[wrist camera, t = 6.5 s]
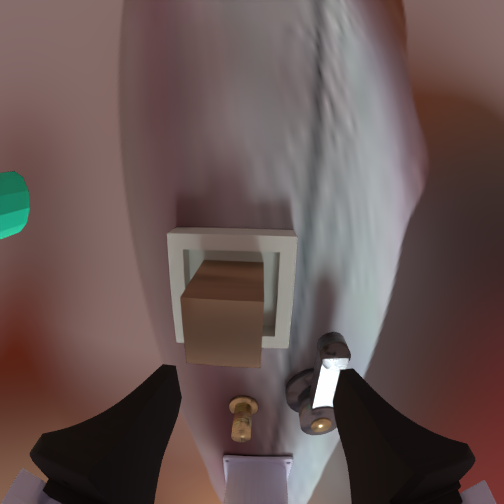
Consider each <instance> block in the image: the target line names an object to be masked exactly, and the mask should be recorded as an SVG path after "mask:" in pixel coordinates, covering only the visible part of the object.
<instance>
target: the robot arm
mask: <svg viewBox="0 0 504 504" xmlns="http://www.w3.org/2000/svg"><path fill="white" fill-rule="evenodd" d="M181 399H182V396H181V391H180V386H179V381H178V376H177V370H176V366H173V365H165V364H163V365H162V366H160V367H159V368H158V369H157V370H156V371H155V372H154V373H153V374H152V375H151V376H150V377H148V378H147V379H146V380H145V381H144V382H143V383H142V384H141V385H140V386H138V387H137V388H136V389H135V390H134V391H133V392H131V393H130V394H129V395H128V396H126V397H125V398H124V399H122V400H121V401H120V402H119V403H117V404H115V405H114V406H112V407H111V408H109V409H108V410H106V411H104V412H103V413H101V414H99V415H97V416H95V417H93V418H91V419H88V420H86V421H84V422H82V423H79V424H77V425H74V426H71V427H68V428H65V429H61V430H57V431H53V432H49V433H44V434H42V435H41V437H40V438H39V440H38V441H37V443H36V444H35V446H34V447H33V449H32V450H31V452H30V457H31V459H32V461H33V462H34V463H35V464H36V465H37V466H38V468H39V469H40V470H41V471H42V472H43V473H44V474H45V475H46V476H47V477H48V478H49V480H48V481H47V483H45V482H44V481H43V480H41V479H40V478H38V477H37V476H35V475H33V474H31V473H30V472H28V471H27V470H25V469H21V471H20V472H19V474H18V476H17V477H16V479H15V480H14V482H13V484H12V486H11V487H10V489H9V490H8V492H7V494H6V496H5V497H4V499H3V501H2V504H154V500H155V493H156V487H157V482H158V477H159V472H160V467H161V463H162V459H163V456H164V452H165V450H166V447H167V444H168V441H169V439H170V436H171V433H172V431H173V428H174V425H175V422H176V419H177V417H178V413H179V408H180V404H181ZM332 402H333V410H334V416H335V421H336V425H337V428H338V432H339V435H340V439H341V442H342V446H343V449H344V452H345V456H346V460H347V465H348V472H349V479H350V489H351V499H352V504H496V502H495V500H494V498H493V496H492V494H491V492H490V490H489V488H488V486H487V484H486V482H485V481H482V482H480V483H478V484H476V485H474V486H472V487H471V488H469V489H467V490H465V491H464V492H462V493H461V494H459V491H458V489H459V488H460V487H461V485H460V483H459V480H460V479H461V478H462V477H463V476H464V475H465V474H466V473H467V472H468V471H469V470H470V468H471V467H472V466H473V464H474V462H475V456H474V455H473V453H472V451H471V449H470V448H469V446H468V444H466V443H462V442H459V441H455V440H451V439H448V438H446V437H443V436H441V435H438V434H436V433H434V432H431V431H429V430H427V429H426V428H424V427H422V426H420V425H418V424H416V423H415V422H413V421H411V420H410V419H408V418H407V417H405V416H404V415H402V414H401V413H400V412H398V411H397V410H396V409H394V408H393V407H392V406H391V405H390V404H389V403H387V402H386V401H385V400H384V399H383V398H382V397H381V396H380V395H378V393H377V392H375V391H374V390H373V389H372V388H371V387H370V385H369V384H368V383H366V381H365V380H364V379H363V378H362V377H361V376H360V375H359V374H358V373H357V372H356V371H355V370H354V369H340V373H339V377H338V381H337V385H336V389H335V393H334V397H333V400H332ZM292 463H293V457H256V456H235V455H224V456H223V464H224V472H225V481H226V490H225V498H224V504H288V493H287V481H288V477H289V474H290V470H291V466H292Z"/></svg>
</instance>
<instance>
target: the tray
mask: <svg viewBox="0 0 504 504" xmlns="http://www.w3.org/2000/svg"><path fill="white" fill-rule="evenodd" d="M297 238H298V237H297V235H296V233H295V231H294V230H278V229H246V228H201V227H176V228H174V229H173V230H171V231H170V232H168V233H167V242H168V259H169V274H170V286H171V297H172V307H173V317H174V325H175V334H176V342H178V343H184V336H183V326H182V315H181V302H180V297H181V295H182V293H183V292H184V290H185V289H186V287H187V285H188V284H189V282H190V281H191V279H192V278H193V276H194V274H195V273H196V271H197V270H198V268H199V267H200V265H201V263H202V262H203V260H222V261H246V262H264V313H263V331H262V348H288V346H289V336H290V326H291V315H292V304H293V293H294V281H295V267H296V253H297Z"/></svg>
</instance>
